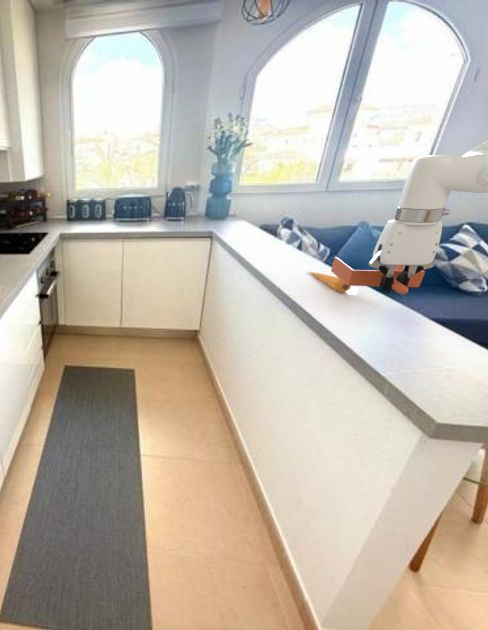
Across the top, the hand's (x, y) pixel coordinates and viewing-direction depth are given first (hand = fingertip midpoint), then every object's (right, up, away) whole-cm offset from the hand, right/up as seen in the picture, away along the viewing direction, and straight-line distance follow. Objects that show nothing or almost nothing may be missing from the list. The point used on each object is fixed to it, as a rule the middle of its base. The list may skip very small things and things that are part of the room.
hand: (391, 290), depth 85 cm
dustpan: (+2, +2, +5) cm, 6 cm away
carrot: (+10, +5, +34) cm, 36 cm away
